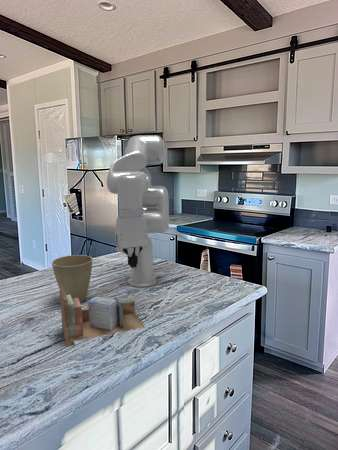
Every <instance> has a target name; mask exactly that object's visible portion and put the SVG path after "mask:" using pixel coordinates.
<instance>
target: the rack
mask: <svg viewBox="0 0 338 450" xmlns="http://www.w3.org/2000/svg"><path fill="white" fill-rule="evenodd" d="M58 288H60V289H59V298H60V299H59V301H60V302H59V303H60V313H61V325H62V326H61V328H62V332H63V336H64V337H63V338H64V341H65V344H66V346H67V347H69V346H74V345H76V344H75V342H76V341H77V342H78V341H81V340H86V339H92V338H96V337H101V336H106V335H111V334H117V333H120V332H121V333H122V332H126V331H131V330H136V329H141V328H145V327H146V326H145V324H144V323H143V321H142V320H141V319H140V318H139V316H138V315H137V314H136V309H135V308H136V305H135V303H136V302H135V301H134V300H131V301H130V300H129V301H126V302H125V301H124V302H120V304H121V305H122V307H123V328H120V327H119V325H118V324H117V325H116V326H115V327H114V328H113V329H112V330H107V329H101V328H96V327H90V323H89V308H83V307H82V305H81V304H82V303H81V302H80V301H79V299H78V298H71V295H66V293H65V290H64V287H63V286H58Z"/></svg>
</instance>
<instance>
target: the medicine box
mask: <svg viewBox="0 0 338 450" xmlns="http://www.w3.org/2000/svg"><path fill="white" fill-rule="evenodd" d="M87 305H88V306H87V307H88V308H87V309H89V323H90V327H96V328H101V329H107V330H112V329H113V328H114V327H115V326H116V325H117V324H118V320H117V303H116V300H115V299H113V298H109V297H101V296H95V297H93V298H91V299H90V300H89V301H87Z"/></svg>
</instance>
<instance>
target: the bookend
mask: <svg viewBox="0 0 338 450" xmlns="http://www.w3.org/2000/svg"><path fill="white" fill-rule="evenodd" d="M112 299H115V300H116V303H117V320H118V325H119V327H120V328H123V307H122V305H121V304H120V303H121V302H120V300H119V299H118V298H117V297H113V298H112Z"/></svg>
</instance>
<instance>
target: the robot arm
mask: <svg viewBox="0 0 338 450" xmlns="http://www.w3.org/2000/svg"><path fill="white" fill-rule="evenodd" d="M165 146H166V145H165V142H164V140H163V138H162V137H161V136H160V135H155V134H154V135H152V134H151V135H150V134H149V135H145V134H143V135H141V134H140V135H133V136H131V137H130V138H129V139H128V140H127V144H126V146H125V148H124V155H122V156H121V157H119V158H117V159H116V160H114V161H113V162H112V163H111V164H110V166H109V169H108V173H107V178H106V187H107V190H108V191H109V192H110V193H111V194H113V195H117V197H118V216H117V217H116V221H115V229H114V230H115V231H114V232H115V235H114V236H115V237H114V240H115V245H116V248H115V250H116V252H118V253H124V254H125V255H127V264H128V266H129V267H130V270H131V271H130V272H131V277H129V278H128V279H127V284H128V285H129V286H130V287H135V288H147V287H152V286H153V285H156V284H157V283H158V279H157V278H158V277H161V278H162V277H164V275H165V273H164V271H154V256H153V255H154V253H153V252H154V251H153V248H154V246H153V240H152V239H151V237H150V236H149V235H148V234H159V233H160V234H164V233H166V232H168V231H169V228H170V227H169V225H170V207H169V206H170V205H169V204H170V201H169V199H170V198H169V191H168V189H167V188H166V187H165V186H163V185H152V176H151V173H150V172H149V171H148V169H147V168H146V167H147V165H159V164H163V163H164V161H165V160H166V153H167V152H166V147H165ZM148 209H157V210H148Z"/></svg>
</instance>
